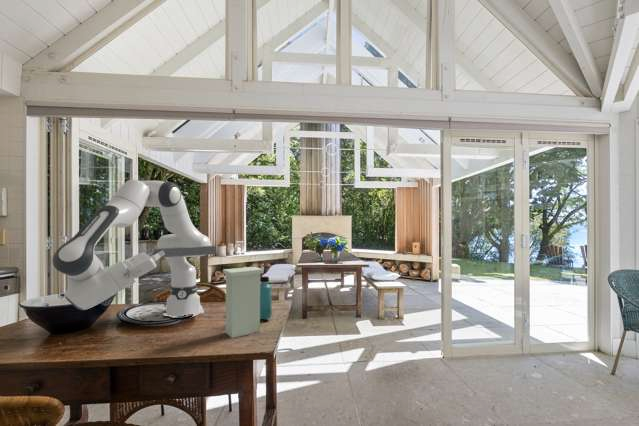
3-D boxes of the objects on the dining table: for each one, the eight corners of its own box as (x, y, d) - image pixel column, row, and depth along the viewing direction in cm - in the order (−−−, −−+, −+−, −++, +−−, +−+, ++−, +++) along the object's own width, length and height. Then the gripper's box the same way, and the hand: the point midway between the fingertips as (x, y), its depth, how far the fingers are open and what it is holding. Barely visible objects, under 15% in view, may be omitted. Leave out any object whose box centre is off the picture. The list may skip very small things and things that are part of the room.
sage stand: (230, 339, 126) (230, 272, 127) (222, 332, 134) (223, 269, 134) (263, 331, 135) (263, 269, 135) (253, 325, 142) (254, 266, 142)
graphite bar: (153, 257, 113) (153, 249, 113) (151, 256, 116) (151, 248, 116) (215, 253, 126) (216, 246, 126) (213, 253, 129) (213, 245, 129)
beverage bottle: (268, 322, 146) (269, 278, 146) (254, 321, 147) (255, 277, 147) (273, 318, 152) (274, 275, 153) (260, 317, 154) (260, 275, 154)
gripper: (120, 270, 100) (163, 246, 107) (115, 262, 117) (153, 241, 124) (132, 287, 102) (173, 262, 109) (125, 276, 118) (162, 255, 125)
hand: (162, 251), depth 116 cm, fingers closed on graphite bar, 3 cm apart
